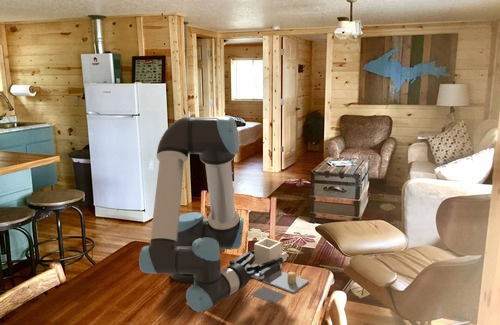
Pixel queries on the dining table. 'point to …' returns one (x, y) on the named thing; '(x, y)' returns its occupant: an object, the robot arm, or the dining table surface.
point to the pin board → (285, 285)
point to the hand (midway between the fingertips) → (277, 252)
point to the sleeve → (268, 254)
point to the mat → (268, 295)
